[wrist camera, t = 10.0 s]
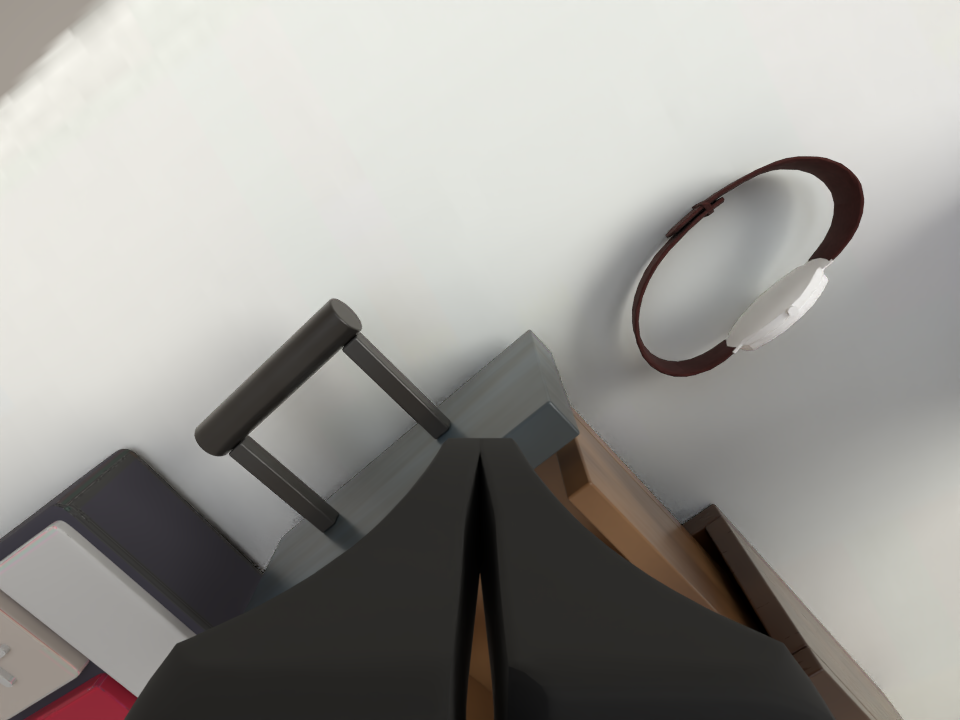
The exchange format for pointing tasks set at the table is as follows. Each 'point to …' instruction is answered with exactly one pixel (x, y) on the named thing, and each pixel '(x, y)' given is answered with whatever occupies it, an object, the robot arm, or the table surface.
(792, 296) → the watch
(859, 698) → the cabinet
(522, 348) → the drawer
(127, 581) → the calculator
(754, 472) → the table surface
